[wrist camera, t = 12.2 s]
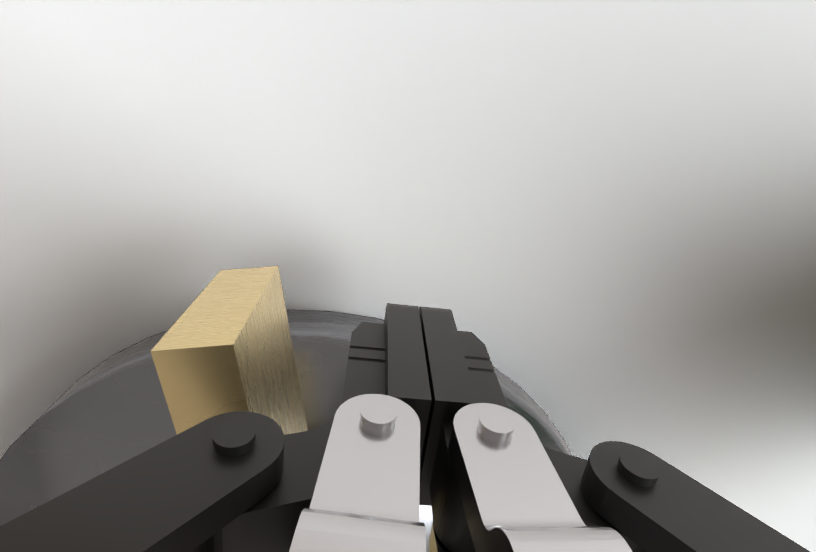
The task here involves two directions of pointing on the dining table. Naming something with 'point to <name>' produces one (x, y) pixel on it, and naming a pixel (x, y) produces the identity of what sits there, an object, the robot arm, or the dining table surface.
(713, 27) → the dining table surface
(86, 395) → the base
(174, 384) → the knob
